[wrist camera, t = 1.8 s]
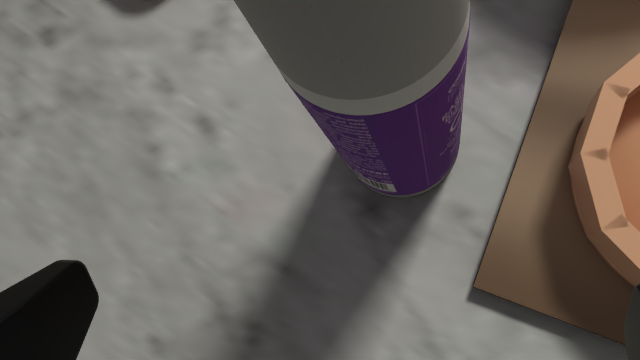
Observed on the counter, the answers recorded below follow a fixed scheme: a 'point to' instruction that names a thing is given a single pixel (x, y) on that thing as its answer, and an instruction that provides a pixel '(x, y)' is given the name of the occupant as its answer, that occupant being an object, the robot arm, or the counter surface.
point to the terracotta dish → (611, 172)
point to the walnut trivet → (562, 184)
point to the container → (375, 80)
